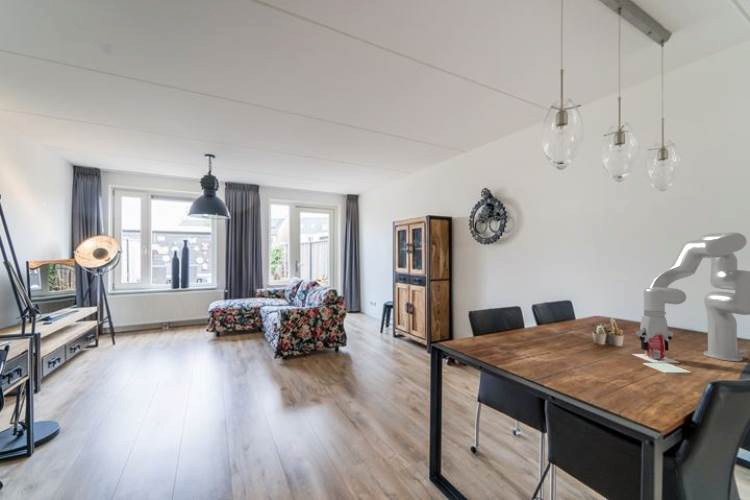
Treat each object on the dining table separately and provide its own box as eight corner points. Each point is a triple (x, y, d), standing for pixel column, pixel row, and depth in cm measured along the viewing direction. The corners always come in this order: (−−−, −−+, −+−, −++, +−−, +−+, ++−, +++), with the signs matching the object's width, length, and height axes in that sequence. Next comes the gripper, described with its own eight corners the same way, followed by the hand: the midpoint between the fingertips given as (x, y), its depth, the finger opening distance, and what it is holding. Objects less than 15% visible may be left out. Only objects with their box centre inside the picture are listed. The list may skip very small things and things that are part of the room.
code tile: (655, 354, 156) (655, 353, 156) (679, 362, 144) (679, 362, 144) (632, 354, 156) (632, 353, 156) (653, 362, 144) (653, 362, 144)
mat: (666, 363, 143) (666, 362, 143) (691, 372, 132) (691, 371, 132) (642, 364, 143) (642, 363, 143) (665, 373, 132) (665, 372, 132)
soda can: (657, 355, 154) (656, 331, 154) (669, 360, 146) (668, 334, 147) (641, 355, 154) (641, 330, 154) (652, 360, 147) (652, 334, 147)
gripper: (664, 312, 155) (665, 347, 154) (630, 312, 154) (630, 347, 154) (679, 315, 147) (680, 352, 147) (643, 315, 147) (643, 352, 147)
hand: (654, 349), depth 150 cm, fingers open, 9 cm apart
